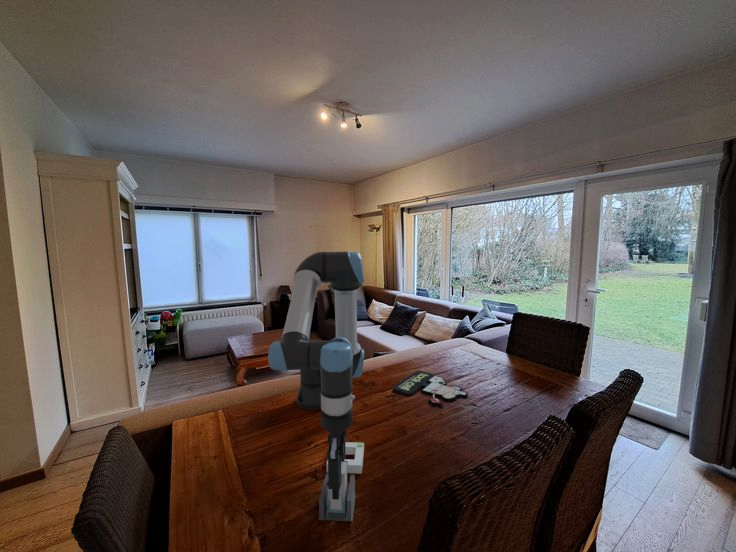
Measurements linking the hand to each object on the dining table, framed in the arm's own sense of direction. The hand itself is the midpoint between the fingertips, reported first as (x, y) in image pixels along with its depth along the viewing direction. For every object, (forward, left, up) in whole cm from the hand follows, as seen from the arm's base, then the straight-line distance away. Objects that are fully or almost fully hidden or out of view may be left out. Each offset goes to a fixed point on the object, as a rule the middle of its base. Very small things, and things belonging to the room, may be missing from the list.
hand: (337, 499), depth 73 cm
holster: (0, 0, -2) cm, 2 cm away
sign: (+34, +65, -3) cm, 74 cm away
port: (0, +16, -2) cm, 16 cm away
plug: (0, 0, -2) cm, 2 cm away
